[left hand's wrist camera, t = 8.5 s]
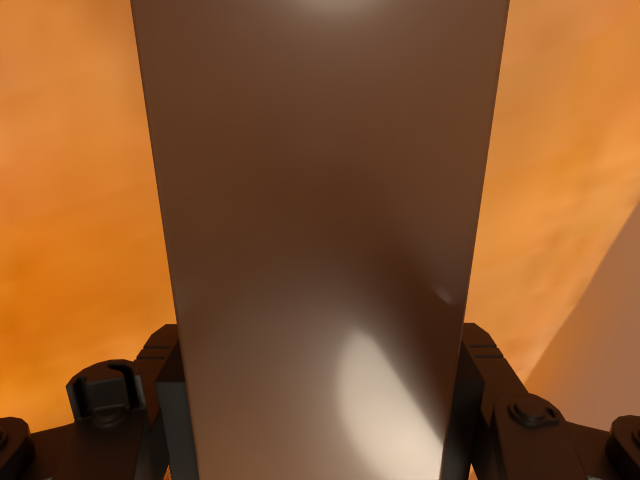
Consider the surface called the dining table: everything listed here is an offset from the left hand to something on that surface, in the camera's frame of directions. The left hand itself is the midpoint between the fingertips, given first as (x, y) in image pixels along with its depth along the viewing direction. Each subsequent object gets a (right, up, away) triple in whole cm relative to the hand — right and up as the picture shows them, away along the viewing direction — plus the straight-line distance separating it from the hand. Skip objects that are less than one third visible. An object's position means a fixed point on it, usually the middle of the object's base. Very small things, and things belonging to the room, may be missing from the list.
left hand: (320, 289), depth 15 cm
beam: (0, +21, -7) cm, 22 cm away
